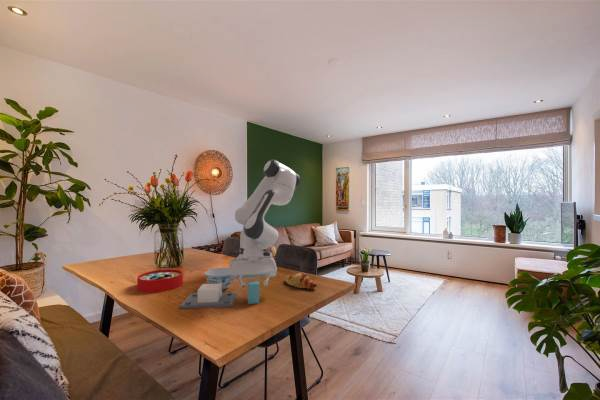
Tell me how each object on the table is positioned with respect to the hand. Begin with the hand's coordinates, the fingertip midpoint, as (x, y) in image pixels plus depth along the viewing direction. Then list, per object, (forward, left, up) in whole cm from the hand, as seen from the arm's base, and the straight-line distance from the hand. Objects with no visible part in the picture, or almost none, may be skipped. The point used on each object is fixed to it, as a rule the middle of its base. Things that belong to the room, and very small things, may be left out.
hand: (254, 285), depth 114 cm
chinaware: (-19, -17, -6) cm, 26 cm away
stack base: (0, -18, -6) cm, 19 cm away
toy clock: (-24, -48, -7) cm, 54 cm away
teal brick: (+1, 0, -6) cm, 6 cm away
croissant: (-18, +21, -7) cm, 29 cm away
